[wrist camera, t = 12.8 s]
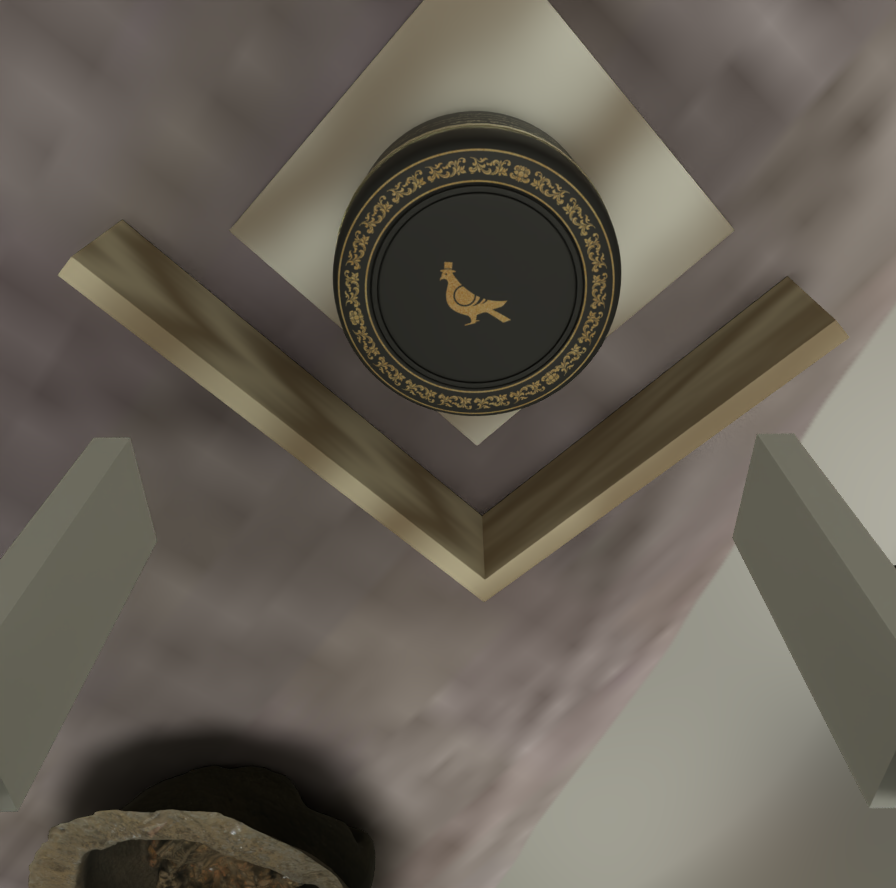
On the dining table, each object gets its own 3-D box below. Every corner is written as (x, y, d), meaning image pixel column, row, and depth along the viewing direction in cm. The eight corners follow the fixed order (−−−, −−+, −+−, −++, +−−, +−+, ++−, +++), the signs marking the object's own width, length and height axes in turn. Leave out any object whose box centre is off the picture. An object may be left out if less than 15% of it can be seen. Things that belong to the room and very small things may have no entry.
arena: (109, 236, 33) (57, 275, 29) (424, -176, 26) (417, -206, 21) (481, 537, 41) (484, 602, 37) (800, 291, 34) (849, 337, 30)
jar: (547, 362, 35) (567, 450, 29) (333, 309, 34) (303, 388, 28) (629, 140, 30) (676, 186, 24) (381, 68, 29) (359, 94, 22)
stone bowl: (475, 869, 57) (469, 1015, 50) (220, 925, 66) (182, 1058, 58) (274, 671, 46) (227, 821, 38) (-2, 771, 54) (-86, 909, 47)
